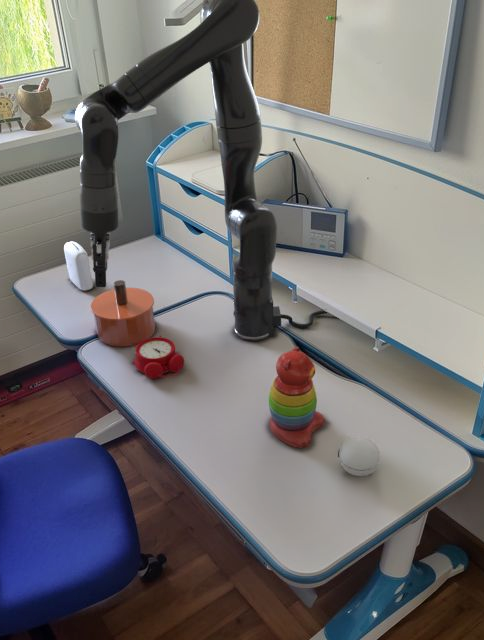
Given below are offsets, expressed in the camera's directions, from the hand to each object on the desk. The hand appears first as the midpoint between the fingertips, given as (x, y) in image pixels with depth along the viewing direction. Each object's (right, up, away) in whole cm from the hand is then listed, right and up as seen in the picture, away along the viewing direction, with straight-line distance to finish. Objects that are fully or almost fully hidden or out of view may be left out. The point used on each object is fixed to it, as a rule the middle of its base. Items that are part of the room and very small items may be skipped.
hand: (101, 277), depth 141 cm
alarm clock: (+12, -19, +12) cm, 26 cm away
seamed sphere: (+50, -38, -20) cm, 66 cm away
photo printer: (-14, +3, +48) cm, 51 cm away
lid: (+2, -4, +22) cm, 22 cm away
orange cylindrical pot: (+2, -10, +26) cm, 28 cm away
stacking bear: (+40, -31, -8) cm, 52 cm away
